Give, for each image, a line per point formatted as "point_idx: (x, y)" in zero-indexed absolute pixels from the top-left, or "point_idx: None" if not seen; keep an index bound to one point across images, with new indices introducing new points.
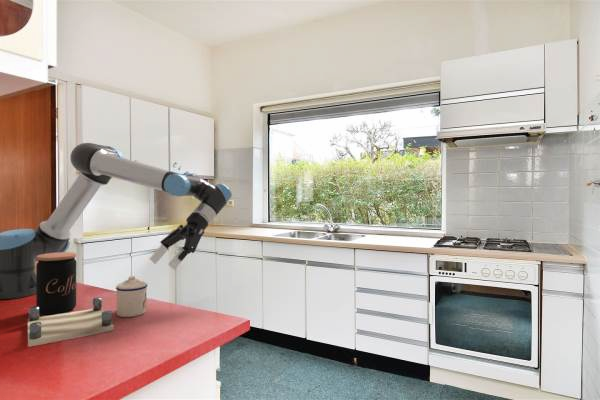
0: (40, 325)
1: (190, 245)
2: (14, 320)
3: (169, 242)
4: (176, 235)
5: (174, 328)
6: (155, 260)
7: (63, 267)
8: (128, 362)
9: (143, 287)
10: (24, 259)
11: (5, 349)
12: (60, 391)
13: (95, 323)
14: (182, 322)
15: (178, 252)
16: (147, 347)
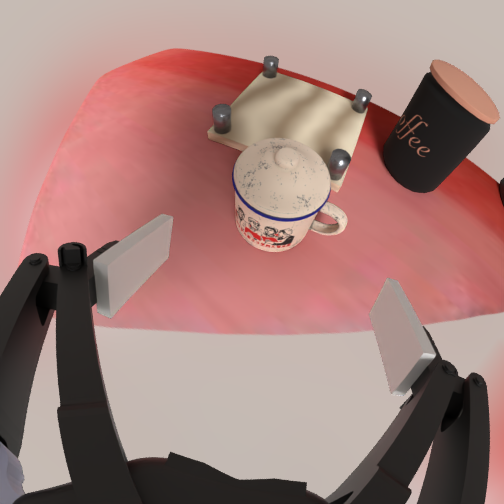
0: (265, 62)
1: (22, 267)
2: (397, 121)
3: (410, 405)
4: (379, 463)
5: (105, 198)
6: (377, 310)
7: (422, 87)
8: (105, 105)
9: (232, 180)
10: None
11: (280, 68)
12: (132, 63)
13: (248, 124)
14: (108, 230)
15: (123, 248)
16: (105, 132)
